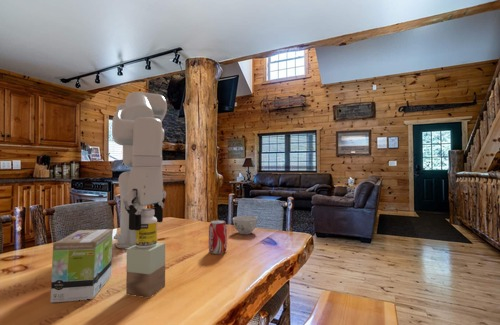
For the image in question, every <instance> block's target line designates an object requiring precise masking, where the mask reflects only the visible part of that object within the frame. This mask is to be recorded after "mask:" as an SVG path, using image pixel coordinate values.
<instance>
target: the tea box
mask: <svg viewBox="0 0 500 325" xmlns="http://www.w3.org/2000/svg"><path fill="white" fill-rule="evenodd" d="M112 255H113V229H109V228H107V229H105V228H104V229H80V230H79V229H78V230H76V231H74V232H72V233H70V234H69V235H67V236H65V237H63V238H60V239H59V240H57V241H55V242H53V244H52V261H51V265H52V266H51V285H50V286H51V288H50V300H49V301H50V302H49V303H66V302H67V303H68V302H78V301H79V300H80V301H88V300H87V299H90V300H93V299H94V298H95V297H96V295H97V294H98V293H99V292H100V290H102V288H103V286H104V285H105V284H106V283H107V281H109V279H110V278H111V276H112V265H113V264H112V260H113V256H112Z"/></svg>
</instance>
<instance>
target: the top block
mask: <svg viewBox="0 0 500 325" xmlns="http://www.w3.org/2000/svg"><path fill="white" fill-rule="evenodd" d="M164 265H165V266H166V242H165V243H164V242H157V244H156V245H155V246H154V247H150V248H138V247H136V245H134V246H132V247H129V248H127V249H126V269H125V270H126V273H127V272H134V273H142V274H151V273H153V272H154V271H156V270H157V269H159V268H161V267H162V266H164Z"/></svg>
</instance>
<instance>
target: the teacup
mask: <svg viewBox="0 0 500 325" xmlns="http://www.w3.org/2000/svg"><path fill="white" fill-rule="evenodd" d="M232 223H233V226H234V228H235V230H236V231H237V232H238V233H239V234H240V235H250V234H251V233H252V232H253V231H254V230H255V229H256V227H257V224H258V216H256V215H239V216H234V217H232Z"/></svg>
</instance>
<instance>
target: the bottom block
mask: <svg viewBox="0 0 500 325" xmlns="http://www.w3.org/2000/svg"><path fill="white" fill-rule="evenodd" d="M165 287H166V264H165V265H164V266H162V267H161V268H159V269H157V270H156V271H154V272H153V273H151V274H142V273H134V272H126V286H125V288H126V290H125V292H126V294H129V295H128V296H132V295H136V296H135V297H139V296H143V297H142V298H146V297H149V298H148V299H150V298H151V296H152V295H153V296H154V295H156V294H157V293H158V292H159V291H161V290H162V289H163V288H165ZM156 292H157V293H156ZM153 296H152V297H153Z"/></svg>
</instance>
